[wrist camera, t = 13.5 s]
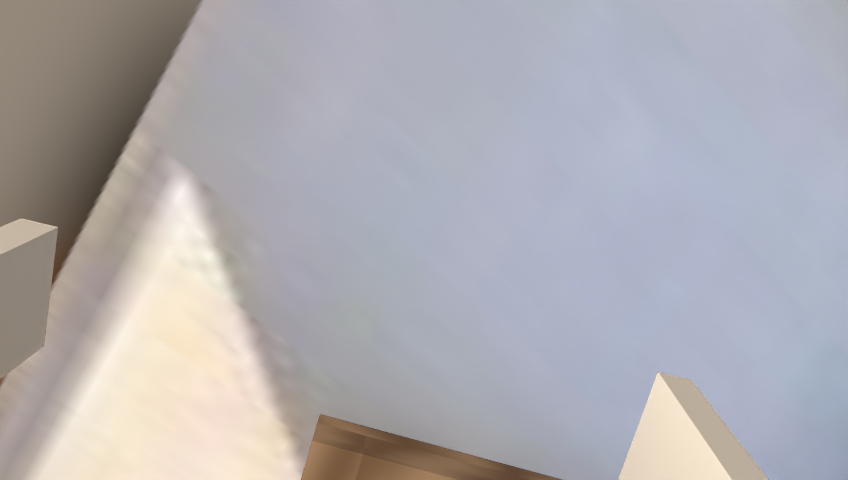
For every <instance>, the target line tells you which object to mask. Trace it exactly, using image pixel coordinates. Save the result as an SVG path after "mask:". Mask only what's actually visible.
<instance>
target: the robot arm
mask: <svg viewBox="0 0 848 480" xmlns="http://www.w3.org/2000/svg"><path fill="white" fill-rule="evenodd" d="M57 231H58V227H55V226H51V225H46V224H42V223H38V222H34V221H30V220H26V219H22V218H21V219H19V220H16V221H14V222H11V223H9V224H7V225H4V226H2V227H0V379H1V378H2V377H4V376H5V375H6V374H8V373H9V372H10V371H12V370H13V369H14V368H15V367H17V366H18V365H19V364H21V363H22V362H23V361H25V360H26V359H27V358H29V357H30V356H31V355H33V354H34V353H35V352H37V351H38V350H39V349H40V348H42V347H43V346H44V342H45V334H46V325H47V316H48V308H49V299H50V291H51V282H52V273H53V265H54V256H55V247H56V239H57ZM618 480H768V479H767V477H766V476H765V475H764V473H763V472H762V471H761V470H760V468H759V467H758V466H757V464H756V463H755V462H754V460H753V459H752V458H751V457H750V455H749V454H748V453H747V451H746V450H745V449H744V447H743V446H742V445H741V444H740V442H739V441H738V440H737V438H736V437H735V436H734V434H733V433H732V432H731V431H730V429H729V428H728V427H727V425H726V424H725V423H724V421H723V420H722V419H721V417H720V416H719V415H718V414H717V412H716V411H715V410H714V408H713V407H712V406H711V404H710V403H709V402H708V401H707V399H706V398H705V397H704V395H703V394H702V393H701V391H700V390H699V389H698V388H697V386H696V385H695V384H694V382H693V381H692V380H690V379H686V378H681V377H677V376H673V375H669V374H665V373H661V372H658V374H657V376H656V379H655V382H654V385H653V387H652V390H651V393H650V395H649V398H648V401H647V403H646V406H645V409H644V412H643V414H642V417H641V420H640V422H639V425H638V428H637V431H636V433H635V436H634V439H633V441H632V444H631V447H630V449H629V452H628V455H627V458H626V460H625V463H624V466H623V468H622V471H621V474H620V476H619V479H618Z"/></svg>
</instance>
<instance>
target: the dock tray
mask: <svg viewBox="0 0 848 480" xmlns="http://www.w3.org/2000/svg"><path fill="white" fill-rule="evenodd" d="M301 480H561V479H557V478H553V477H550V476H546V475H542V474H538V473H535V472H531V471H527V470H524V469H520V468H516V467H513V466H509V465H505V464H502V463H498V462H494V461H490V460H487V459H483V458H479V457H476V456H472V455H468V454H465V453H461V452H457V451H453V450H450V449H446V448H442V447H439V446H435V445H431V444H428V443H424V442H420V441H417V440H413V439H409V438H405V437H402V436H398V435H394V434H391V433H387V432H383V431H380V430H376V429H372V428H369V427H365V426H361V425H357V424H354V423H350V422H346V421H343V420H339V419H335V418H332V417H328V416H324V415H320V416H319V420H318V423H317V427H316V430H315V433H314V437H313V440H312V444H311V447H310V450H309V454H308V457H307V461H306V464H305V468H304V471H303V475H302V478H301Z"/></svg>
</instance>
